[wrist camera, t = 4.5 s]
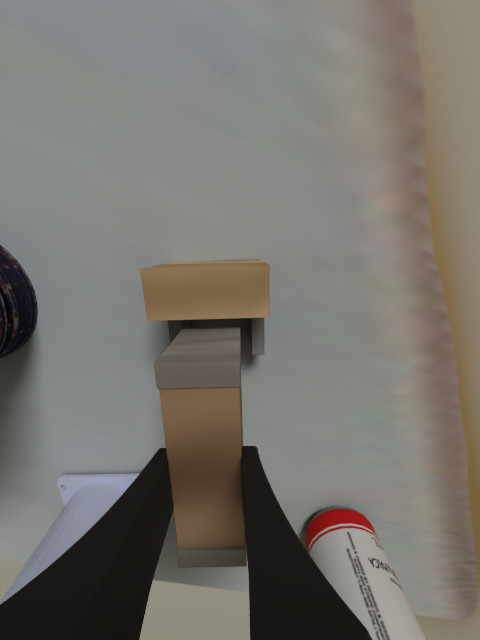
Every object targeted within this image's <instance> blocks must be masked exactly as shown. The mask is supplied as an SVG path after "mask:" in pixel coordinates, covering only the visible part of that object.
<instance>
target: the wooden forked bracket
mask: <svg viewBox="0 0 480 640" xmlns="http://www.w3.org/2000/svg"><path fill="white" fill-rule="evenodd" d="M140 270H141V278H142V285H143V292H144V300H145V307H146V314H147V321H161V320H168V323H169V332H170V341H171V342H172V341H173V340H174V339H175V337H176V336H177V335H178V334H179V332H180V331H181V330H182V329H190V322H189V320H195V319H230V318H250V326H251V348H252V355H262V354H264V318H265V317H269V265H268V264H267V263H265V262H263V261H262V260H260V259H259V260H227V261H195V262H172V263H167V264H163V265H158V266H153V267H149V268H144V269H140Z"/></svg>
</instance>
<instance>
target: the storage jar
mask: <svg viewBox="0 0 480 640" xmlns="http://www.w3.org/2000/svg"><path fill="white" fill-rule="evenodd" d="M36 321H37V300H36V296H35V292H34V289H33V287H32V284H31V282H30V279H29V278H28V276H27V274H26V272H25V271H24V269H23V268H22V267H21V265H20V264H19V263H18V261H17V260H16V259H15V258H14V257H13V256H12V255H11V254H10V253H9V252H8V251H7V250H6V249H5V248H3V247H2V246H1V245H0V358H2V357H4V356H7V355H9V354H11V353H13V352H15V351H16V350H18V349H19V348H21V347H22V346H23V345H24V344H25V343H26V342H27V341H28V339H29V338H30V337H31V335H32V333H33V331H34V328H35V325H36Z"/></svg>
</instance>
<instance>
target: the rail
mask: <svg viewBox="0 0 480 640" xmlns="http://www.w3.org/2000/svg"><path fill="white" fill-rule="evenodd" d="M154 369H155V377H156V385H157V389H159V391H160V399H161V408H162V416H163V425H164V433H165V441H166V450H167V458H168V462H169V471H170V479H171V488H172V496H173V505H174V508H173V509H174V518H175V526H176V535H177V543H178V546H177V559H178V567H234V566H246V538H245V527H244V516H243V498H242V471H241V457H242V446H243V428H242V397H241V337H240V327H229V328H193V329H182V330H181V331H180V332H179V334H178V335H177V336H176V337H175V339H174V340H173V341H172V342H171V343H170V345H169V346H168V347H167V348H166V350H165V351H164V352H163V353H162V354H161V356H160V357H159V358H158V359H157V361H156V362H155V363H154Z"/></svg>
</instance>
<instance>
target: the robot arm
mask: <svg viewBox="0 0 480 640" xmlns="http://www.w3.org/2000/svg"><path fill="white" fill-rule="evenodd" d="M241 471H242V498H243V516H244V527H245V538H246V548H247V559H248V570H249V596H250V597H249V598H250V639H251V640H372V638H371V636H370V634H369V632H368V630H367V629H366V627H365V626H364V625H363V624H362V623H361V621H360V620H359V619H358V618H357V617H356V615H355V614H354V613H353V612H352V611H351V609H350V608H349V607H348V606H347V604H346V603H345V602H344V601H343V600H342V598H341V597H340V596H339V594H338V593H337V592H336V591H335V589H334V588H333V587H332V585H331V584H330V583H329V581H328V580H327V579H326V578H325V576H324V575H323V573H322V572H321V570H320V569H319V568H318V566H317V565H316V563H315V562H314V560H313V559H312V558H311V556H310V555H309V553H308V552H307V551H306V549H305V547H304V546H303V544H302V543H301V541H300V540H299V538H298V536H297V535H296V533H295V532H294V530H293V528H292V527H291V525H290V523H289V521H288V520H287V518H286V516H285V514H284V513H283V511H282V509H281V507H280V505H279V503H278V501H277V499H276V497H275V495H274V493H273V491H272V488H271V486H270V484H269V482H268V479H267V477H266V475H265V472H264V469H263V467H262V464H261V461H260V458H259V454H258V449H257V448H256V447H255V446H242V457H241ZM57 484H58V487H59V490H60V494H61V497H62V501H63V504H64V508H63V510H62V511H61V513H60V514H59V516H58V517H57V519H56V520H55V522H54V523H53V524H52V526H51V527H50V529H49V530H48V532H47V533H46V535H45V536H44V538H43V539H42V541H41V542H40V544H39V545H38V547H37V548H36V549H35V551H34V552H33V554H32V555H31V557H30V558H29V560H28V561H27V563H26V564H25V566H24V567H23V569H22V570H21V572H20V573H19V575H18V576H17V577H16V579H15V581H14V582H13V583H12V585H11V586H10V588H9V589H8V591H7V592H6V594H5V595H4V596H3V598H2V599H1V601H0V640H139V638H140V633H141V628H142V624H143V619H144V615H145V610H146V605H147V601H148V596H149V592H150V588H151V584H152V580H153V577H154V573H155V570H156V566H157V563H158V560H159V556H160V553H161V550H162V546H163V543H164V539H165V536H166V533H167V529H168V526H169V523H170V519H171V516H172V512H173V508H174V505H173V496H172V488H171V479H170V471H169V462H168V458H167V450H166V448H160V449H159V450H158V451H157V452H156V454H155V455H154V456H153V458H152V459H151V460H150V461H149V463H148V464H147V465H146V467H145V468H144V469H143V470H142V472H141V473H132V474H86V475H62V476H60V477H59V479H58V480H57Z"/></svg>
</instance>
